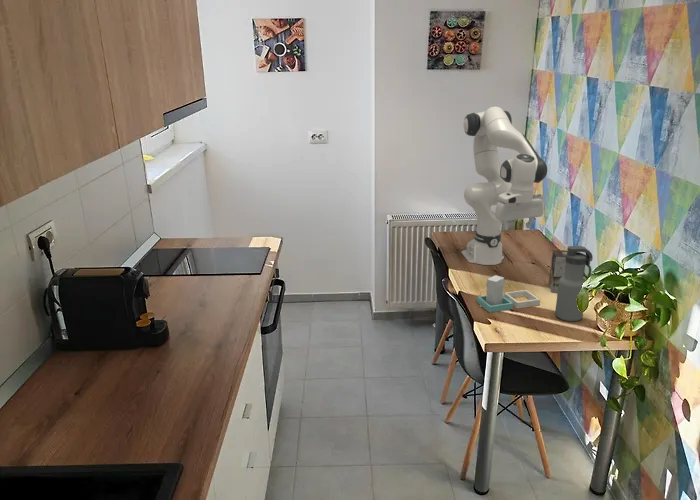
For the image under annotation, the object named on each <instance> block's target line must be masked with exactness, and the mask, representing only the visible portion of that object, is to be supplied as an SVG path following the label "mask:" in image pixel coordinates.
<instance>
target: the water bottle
mask: <svg viewBox="0 0 700 500" xmlns="http://www.w3.org/2000/svg"><path fill="white" fill-rule="evenodd" d="M566 251H568V253H567V254H566V261H565V262H566V266H565V274H564V276H563V277H561V278H560V280H559V285H558V292H556V294H557V295H556V301H555V303H556V304H555V309H554V310H555V311H554V313H555V316H556V317H557V318H559V319H560V320H563V321H566V322H578V321H580V320H582V318H583V314H584V311H583V312H580V311H579V310H578V307H577V300H576V299H577V295H578V294H579V292H580V290H581V288H582V285H583V283H584V282H585V281H586V280H589V279H588V278H589V277H590V278H591V274H592V266H591V265H590V264H591V262H592V261H593V254H592V252H591V251H590V250H589V249H588V248H586V247H585V246H581V245H569V246H567V250H566ZM584 253H585V254H584ZM586 267H587V268H588V275H586V274H585V270H586ZM585 279H586V280H585Z"/></svg>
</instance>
